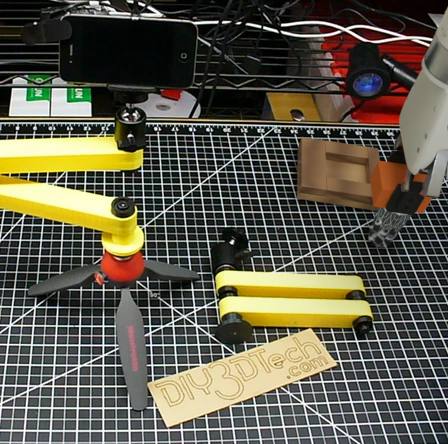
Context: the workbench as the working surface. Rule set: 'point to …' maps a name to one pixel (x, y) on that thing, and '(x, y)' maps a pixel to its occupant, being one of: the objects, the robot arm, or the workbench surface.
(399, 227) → the milkshake
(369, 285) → the workbench surface
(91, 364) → the workbench surface
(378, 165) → the orange block
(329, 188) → the wooden tray
